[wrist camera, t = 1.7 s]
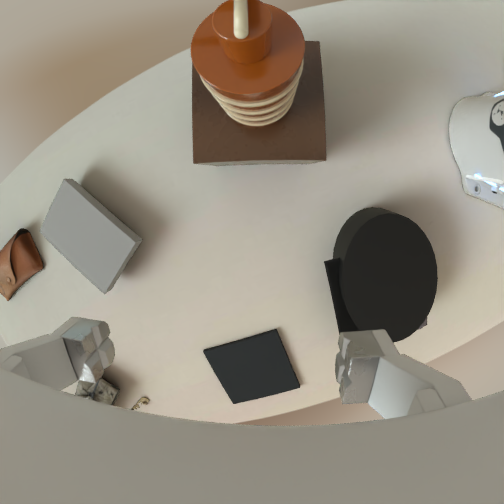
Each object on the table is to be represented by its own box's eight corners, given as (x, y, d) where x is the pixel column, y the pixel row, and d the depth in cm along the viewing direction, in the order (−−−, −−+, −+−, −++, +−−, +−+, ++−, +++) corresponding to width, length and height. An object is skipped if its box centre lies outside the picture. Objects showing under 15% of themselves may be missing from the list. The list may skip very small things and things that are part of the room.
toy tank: (127, 377, 47) (104, 412, 38) (106, 420, 52) (87, 450, 43) (92, 352, 47) (64, 383, 37) (76, 399, 52) (55, 427, 42)
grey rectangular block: (145, 238, 41) (77, 178, 39) (135, 242, 37) (64, 178, 36) (115, 286, 43) (52, 227, 41) (104, 294, 39) (39, 231, 37)
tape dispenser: (407, 196, 38) (429, 199, 31) (422, 310, 41) (442, 330, 34) (311, 221, 40) (317, 228, 33) (337, 336, 43) (345, 361, 36)
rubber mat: (276, 328, 43) (276, 330, 43) (299, 385, 46) (300, 387, 45) (203, 349, 45) (202, 351, 44) (233, 401, 48) (233, 404, 47)
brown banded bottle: (294, 129, 25) (323, 74, 10) (223, 131, 25) (163, 83, 10) (291, 65, 23) (309, -37, 8) (222, 67, 24) (171, -27, 9)
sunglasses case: (8, 304, 46) (-17, 300, 40) (5, 274, 48) (-19, 269, 42) (45, 266, 43) (15, 259, 37) (42, 233, 45) (15, 224, 39)
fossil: (136, 416, 52) (136, 419, 51) (128, 412, 51) (127, 415, 50) (150, 398, 50) (149, 401, 49) (141, 394, 49) (140, 397, 48)
